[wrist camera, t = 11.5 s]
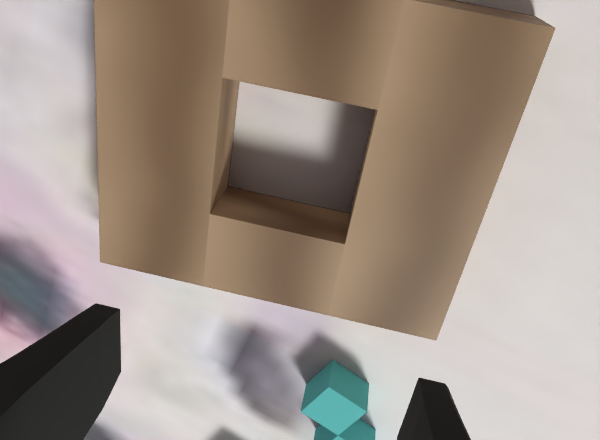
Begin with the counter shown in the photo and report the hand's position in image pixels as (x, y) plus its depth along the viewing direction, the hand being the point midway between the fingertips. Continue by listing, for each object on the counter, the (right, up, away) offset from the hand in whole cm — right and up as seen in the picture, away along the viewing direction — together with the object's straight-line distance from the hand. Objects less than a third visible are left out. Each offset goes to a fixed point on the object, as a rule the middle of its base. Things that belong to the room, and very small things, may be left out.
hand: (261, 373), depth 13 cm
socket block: (+1, +7, +8) cm, 11 cm away
